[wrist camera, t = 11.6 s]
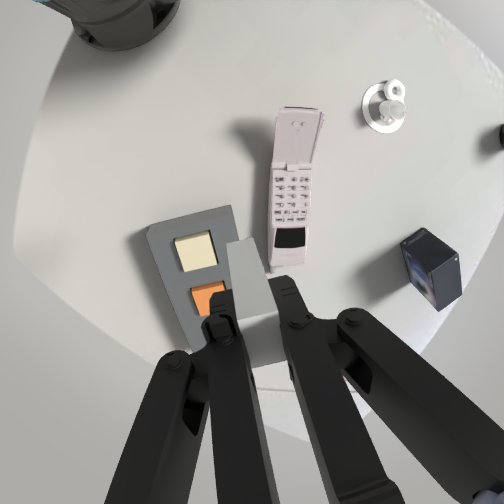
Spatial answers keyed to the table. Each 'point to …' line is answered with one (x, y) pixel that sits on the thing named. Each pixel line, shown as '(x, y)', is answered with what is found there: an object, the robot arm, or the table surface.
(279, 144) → the mobile phone
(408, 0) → the table surface
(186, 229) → the button console
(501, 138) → the supplement container
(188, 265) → the sand button
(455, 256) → the small box
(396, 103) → the white candle holder
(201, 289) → the orange button
